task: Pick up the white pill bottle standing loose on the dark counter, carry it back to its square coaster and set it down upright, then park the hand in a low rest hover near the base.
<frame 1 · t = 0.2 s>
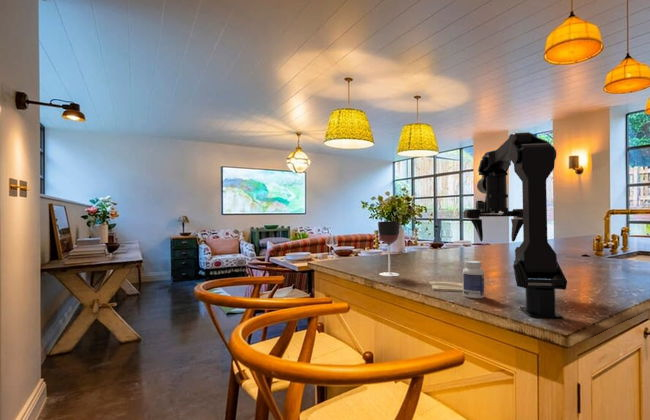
hand: (497, 241, 101), 14 cm above the table, fingers open, 9 cm apart
wineglass: (389, 274, 123), on the table
pill bottle: (473, 297, 90), on the table
coaster: (448, 287, 101), on the table
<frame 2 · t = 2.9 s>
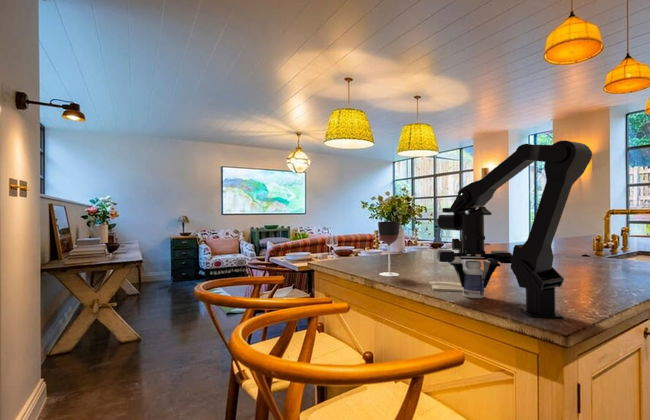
hand: (473, 287, 90), 3 cm above the table, fingers closed on pill bottle, 5 cm apart
pill bottle: (473, 297, 90), on the table, touching gripper
everything else where it was.
when the fingers open (4 cm above the table, at t = 7.3 s): pill bottle drops 1 cm, resting on coaster.
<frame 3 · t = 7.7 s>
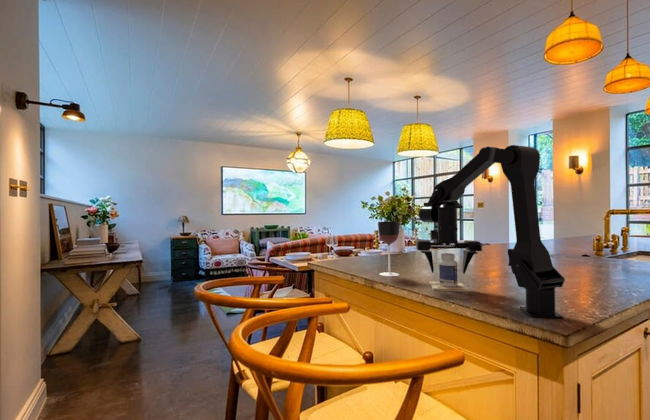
hand: (447, 273, 101), 4 cm above the table, fingers open, 9 cm apart
pill bottle: (448, 285, 101), point 1 cm above the table, touching coaster
everything else where it was.
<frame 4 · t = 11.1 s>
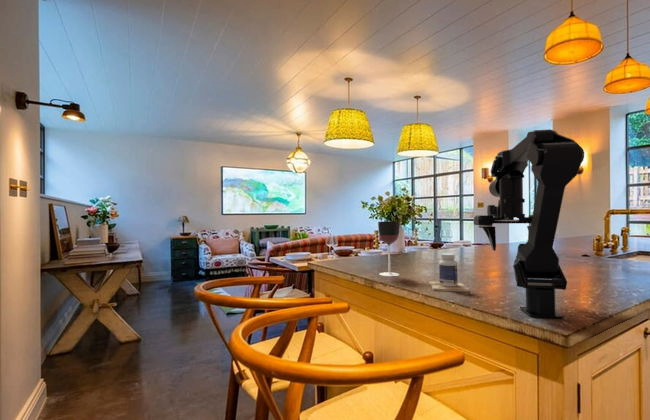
hand: (511, 250, 91), 13 cm above the table, fingers open, 9 cm apart
nothing on the table moved.
at the end: pill bottle 0.1 cm from the coaster (horizontally); pill bottle tilted 0°; the gripper is holding nothing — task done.
